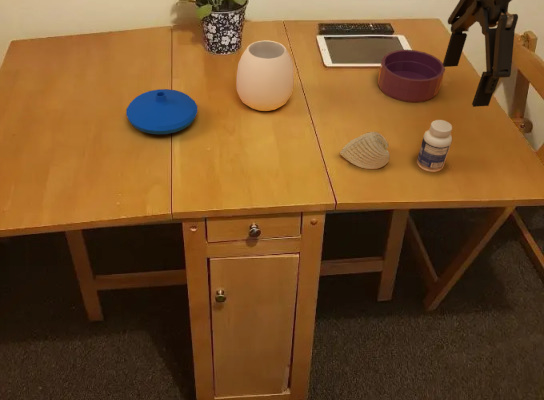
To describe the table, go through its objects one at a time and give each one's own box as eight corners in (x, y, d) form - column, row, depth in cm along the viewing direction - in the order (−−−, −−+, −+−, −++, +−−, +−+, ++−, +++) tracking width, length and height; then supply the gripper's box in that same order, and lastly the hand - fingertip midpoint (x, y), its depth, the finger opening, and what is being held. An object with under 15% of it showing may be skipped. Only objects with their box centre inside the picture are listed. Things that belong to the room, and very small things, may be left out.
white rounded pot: (254, 123, 130) (256, 70, 120) (225, 95, 138) (225, 43, 129) (303, 107, 134) (309, 55, 125) (272, 81, 143) (275, 30, 134)
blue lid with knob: (114, 119, 131) (109, 92, 126) (169, 93, 139) (167, 67, 134) (155, 151, 122) (152, 124, 118) (212, 122, 130) (211, 96, 125)
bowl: (451, 93, 139) (458, 71, 134) (404, 109, 134) (410, 87, 130) (410, 66, 148) (415, 44, 144) (365, 80, 143) (369, 58, 139)
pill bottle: (422, 153, 122) (433, 114, 115) (447, 162, 120) (460, 123, 113) (412, 166, 119) (423, 127, 112) (437, 176, 116) (450, 137, 110)
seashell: (399, 164, 116) (369, 152, 112) (369, 180, 122) (340, 169, 118) (395, 129, 119) (366, 117, 115) (366, 146, 126) (338, 135, 122)
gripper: (448, -59, 101) (420, 52, 115) (515, 3, 83) (472, 125, 97) (490, -61, 102) (457, 50, 116) (566, 1, 83) (515, 122, 98)
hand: (464, 84), depth 107 cm, fingers open, 13 cm apart
